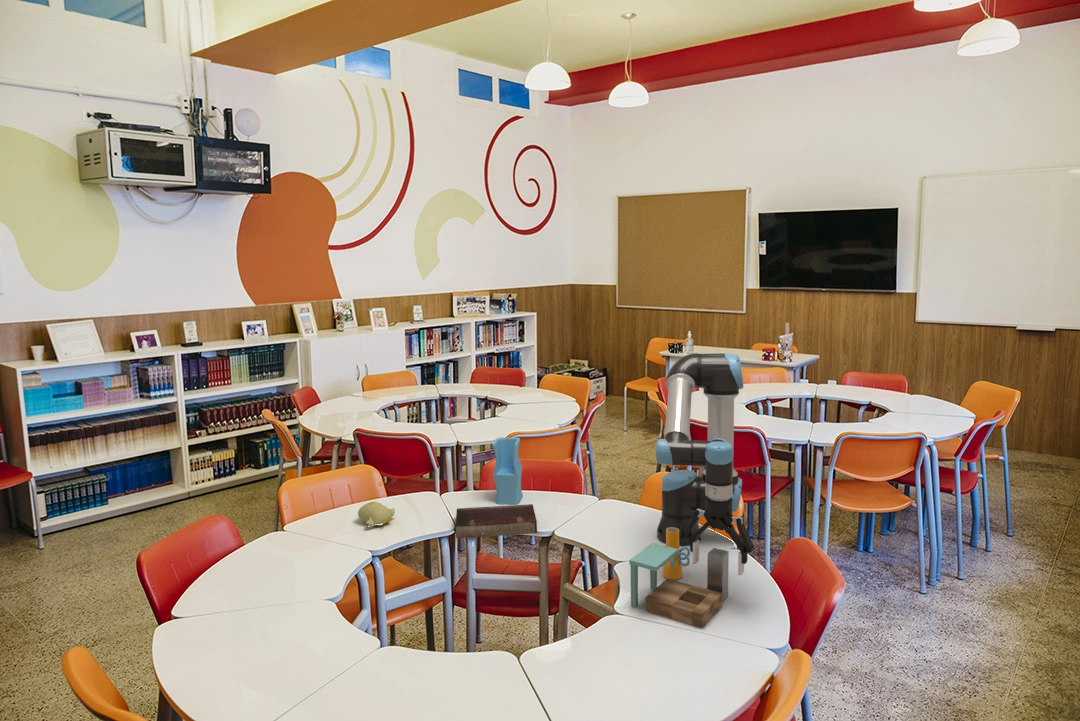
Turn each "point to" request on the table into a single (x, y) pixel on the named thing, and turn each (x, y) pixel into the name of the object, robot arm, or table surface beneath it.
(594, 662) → the table surface
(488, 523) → the hardback book
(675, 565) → the cylinder
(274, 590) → the table surface
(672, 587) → the socket block
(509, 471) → the blue high-backed chair
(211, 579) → the table surface
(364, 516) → the toy
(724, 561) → the peg
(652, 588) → the teal miniature table
